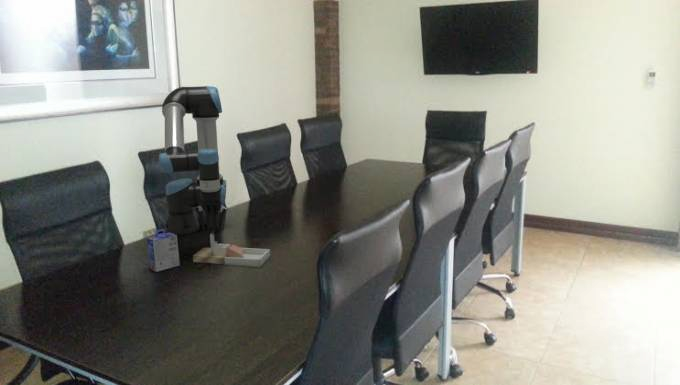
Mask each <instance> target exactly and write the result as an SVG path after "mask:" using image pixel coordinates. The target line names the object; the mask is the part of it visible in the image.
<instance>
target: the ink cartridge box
mask: <svg viewBox="0 0 680 385" xmlns="http://www.w3.org/2000/svg"><path fill="white" fill-rule="evenodd" d="M154 231H155V236H151V237H148V238H146V240H147V248H148V249H147V250H148V255H149V256H148V258H149V266H150V269H151V270H152V271H153V272H155V273H157V272H161V271H164V270H169V269H172V268H176V267H179V266H180V255H179V245H178V244H179V243H178V235H175V234H173V233H166V232H165V228H162V229H161V228H160V229H156V230H154ZM159 232H160V233H159ZM161 232H162V233H161Z"/></svg>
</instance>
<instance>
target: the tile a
mask: <svg viewBox="0 0 680 385" xmlns="http://www.w3.org/2000/svg"><path fill="white" fill-rule="evenodd" d="M230 246H232V245H231V244H230V243H217V245H216V246H214V247H213V254H214V255H223V256H226V253H227V250H228V248H229V247H230Z"/></svg>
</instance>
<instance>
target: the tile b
mask: <svg viewBox="0 0 680 385" xmlns="http://www.w3.org/2000/svg"><path fill="white" fill-rule="evenodd" d="M242 248H243V247H239V246H237V245H236V244H235V243H234V244H232V245H231V246H230V247H229V248H228V250H227V253H226V255H227V256H229V257H235V258H241V257H242V255H243V253H244V249H242Z"/></svg>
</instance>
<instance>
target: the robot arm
mask: <svg viewBox="0 0 680 385" xmlns="http://www.w3.org/2000/svg"><path fill="white" fill-rule="evenodd" d="M161 106H162V107H161V112H162V116H163V117H164V152H163V153H159V155H158V164H159V166H158V167H159V169H160V172H161V173H182V172H184V173H185V172H198V176H197V177H196V181H193V180H192V178H189V177H188V178H181V179H180V178H179V179H177V180H176V179H175V180H172V181H170V182H168V183H167V184H166V186H165V195H166V206H167V218H166V222H165V226H164V230H165V232H166V234H167V233H173V234H175V235H177V236H181V235H183V236H184V235H188V234H189V235H190V234H193V233H196V232H198V231H199V230H200V226H201V229H202V231H203V233H207V240H208V242H210V248H211V250H213V247H214V246H216V245H217V244H218V241H219V240H220V236H219V235H220V234H219V233H221V232H223V230H224V226H225V221H226V215H227V212H228V210H229V208H228V207H225V206H223V205H224V204H225V203H226V197H227V180H226V179H224V177H223V175H222V174H221V173H220V164H219V163H220V162H219V161H220V160H219V159H220V157H219V150H218V149H219V147H218V132H217V130H218V129H217V120H218V119H219V118H220V114H222V113H223V109H222V103H221V98H220V92H219V89H218V87H217V86H209V85H206V86H205V85H203V86H200V85H199V86H180V87H177V88H175V89H174V90H172V91H171V92H170V93H169V94H168V95H167V96H166V97H165V98H164V101H163V102H162V105H161ZM187 114H190V115H191V116H192V117H191V118H192V119H193V120H194V121H195V123H196V136H197V137H196V139H197V149H198V151H185V129H184V117H185V116H186V115H187ZM195 212H196V213H195ZM219 212H220V215H219ZM196 214H197V216H196ZM197 217H198V218H197ZM198 219H199V221H198Z"/></svg>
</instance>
